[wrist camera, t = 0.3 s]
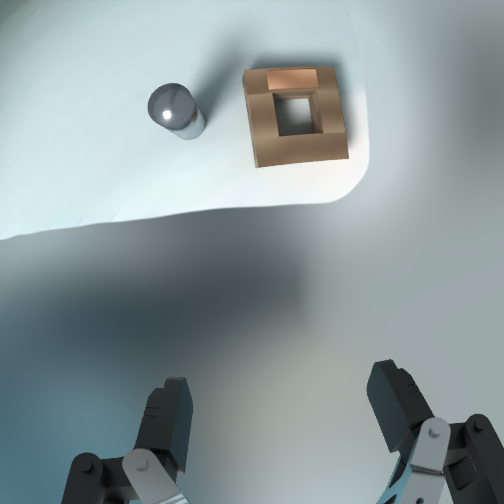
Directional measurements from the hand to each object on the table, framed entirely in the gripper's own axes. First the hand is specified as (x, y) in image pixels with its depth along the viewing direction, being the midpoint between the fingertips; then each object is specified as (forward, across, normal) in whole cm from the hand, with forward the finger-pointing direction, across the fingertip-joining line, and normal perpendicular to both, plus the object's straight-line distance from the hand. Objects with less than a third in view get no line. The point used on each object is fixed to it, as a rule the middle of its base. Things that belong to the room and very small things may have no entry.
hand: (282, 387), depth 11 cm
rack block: (+29, -5, -12) cm, 32 cm away
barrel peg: (+29, +8, -12) cm, 32 cm away
